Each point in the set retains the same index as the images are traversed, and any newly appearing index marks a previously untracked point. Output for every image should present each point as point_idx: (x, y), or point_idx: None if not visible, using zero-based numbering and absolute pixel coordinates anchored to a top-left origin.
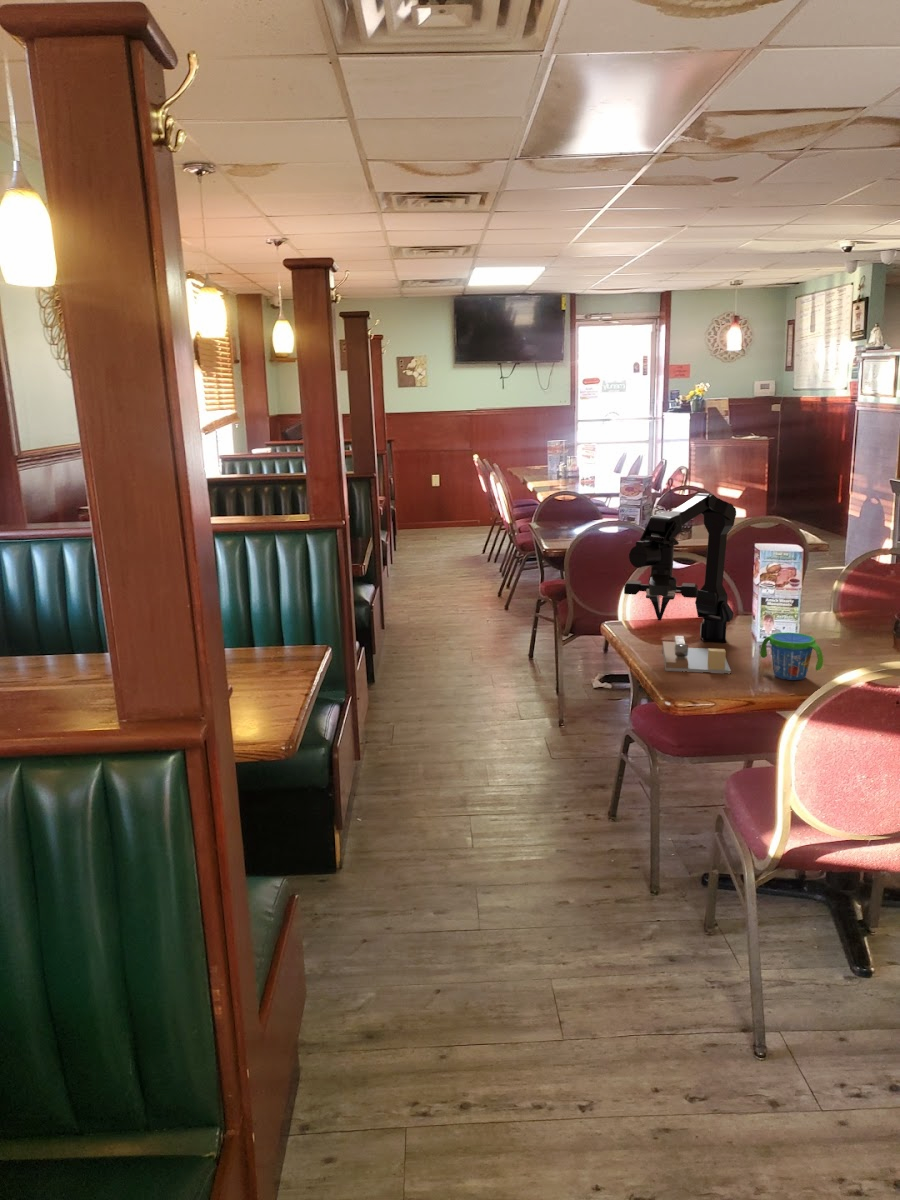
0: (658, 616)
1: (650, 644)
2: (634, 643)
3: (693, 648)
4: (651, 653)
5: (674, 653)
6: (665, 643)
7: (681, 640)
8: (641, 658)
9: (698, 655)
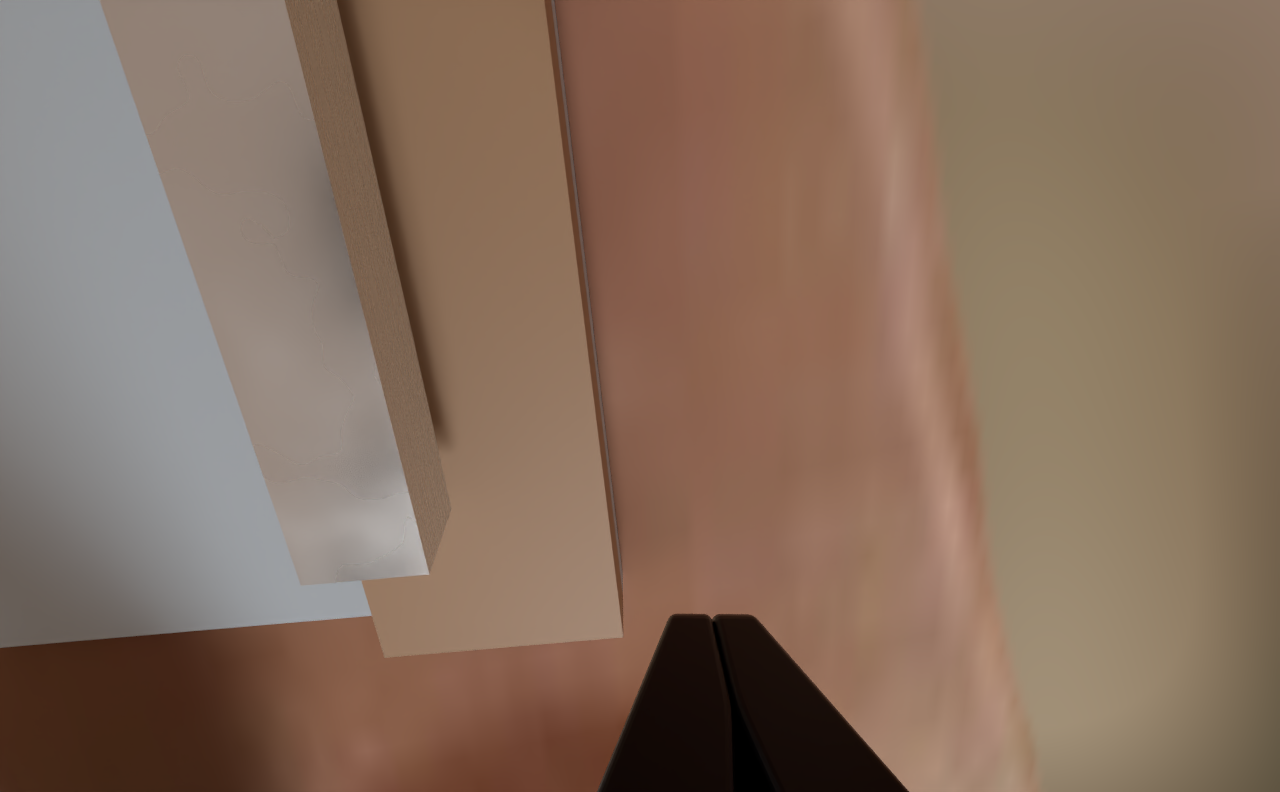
0: (760, 677)
1: None
2: (905, 695)
3: (281, 604)
4: (736, 407)
5: (401, 108)
6: (584, 568)
7: (262, 318)
8: (866, 160)
9: (150, 352)
